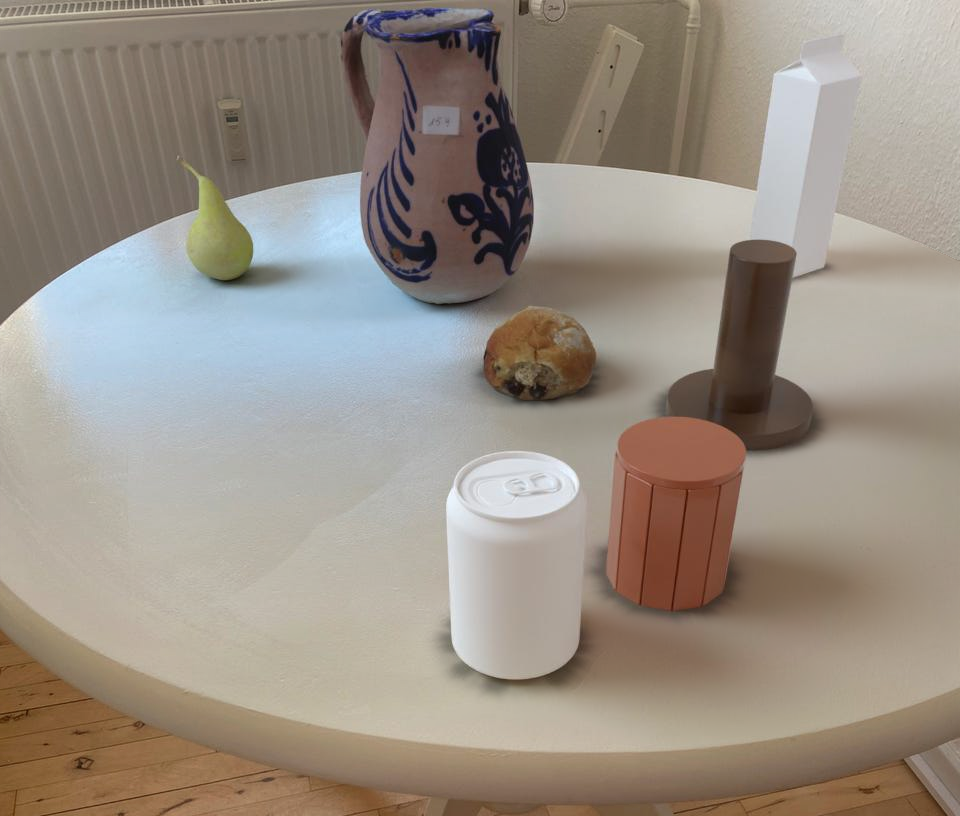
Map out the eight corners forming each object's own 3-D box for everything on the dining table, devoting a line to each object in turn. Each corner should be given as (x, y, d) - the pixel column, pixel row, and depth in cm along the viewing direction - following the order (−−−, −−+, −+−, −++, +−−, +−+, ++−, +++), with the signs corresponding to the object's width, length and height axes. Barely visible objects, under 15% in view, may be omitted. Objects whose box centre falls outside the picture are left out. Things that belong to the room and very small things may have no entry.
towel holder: (814, 392, 93) (847, 231, 84) (804, 460, 84) (840, 288, 75) (677, 375, 96) (696, 217, 87) (654, 440, 87) (672, 272, 78)
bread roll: (601, 419, 97) (631, 333, 94) (533, 411, 89) (564, 317, 86) (522, 385, 102) (548, 302, 99) (452, 375, 94) (477, 284, 92)
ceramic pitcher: (480, 336, 102) (475, 46, 86) (305, 296, 111) (271, 23, 94) (561, 275, 114) (570, 8, 98) (397, 242, 122) (380, -9, 106)
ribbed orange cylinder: (731, 551, 75) (753, 425, 68) (716, 620, 69) (738, 489, 63) (619, 533, 77) (630, 409, 70) (596, 599, 71) (605, 470, 64)
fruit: (228, 295, 111) (207, 175, 103) (175, 281, 114) (151, 164, 106) (269, 274, 115) (252, 157, 108) (218, 261, 118) (198, 147, 111)
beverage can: (436, 619, 70) (428, 460, 62) (551, 594, 71) (557, 436, 64) (474, 699, 64) (470, 535, 56) (598, 670, 66) (611, 506, 58)
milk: (824, 268, 114) (872, 38, 100) (785, 281, 112) (829, 47, 97) (781, 251, 118) (822, 27, 104) (743, 264, 116) (779, 35, 101)
